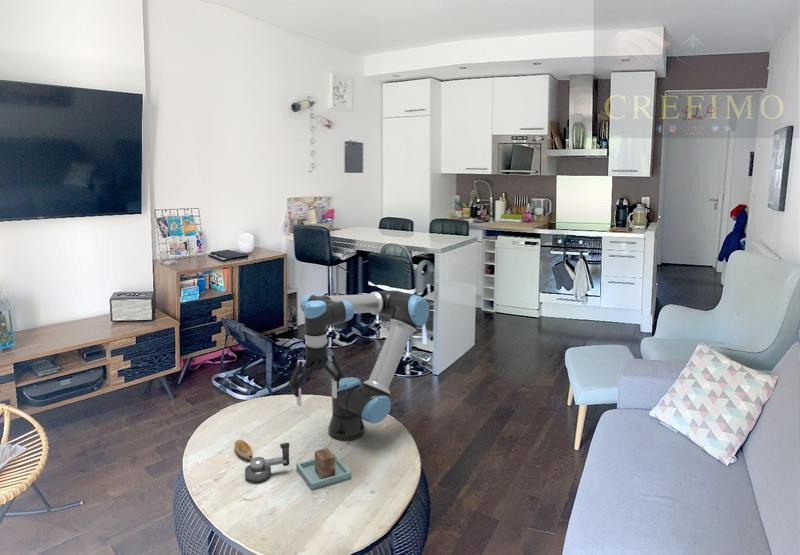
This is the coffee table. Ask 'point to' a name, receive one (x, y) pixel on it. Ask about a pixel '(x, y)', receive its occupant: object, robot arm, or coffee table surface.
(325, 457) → the stop block
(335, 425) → the robot arm
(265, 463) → the crank
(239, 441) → the sweet potato
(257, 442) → the coffee table surface
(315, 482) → the tray
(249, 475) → the crank base
